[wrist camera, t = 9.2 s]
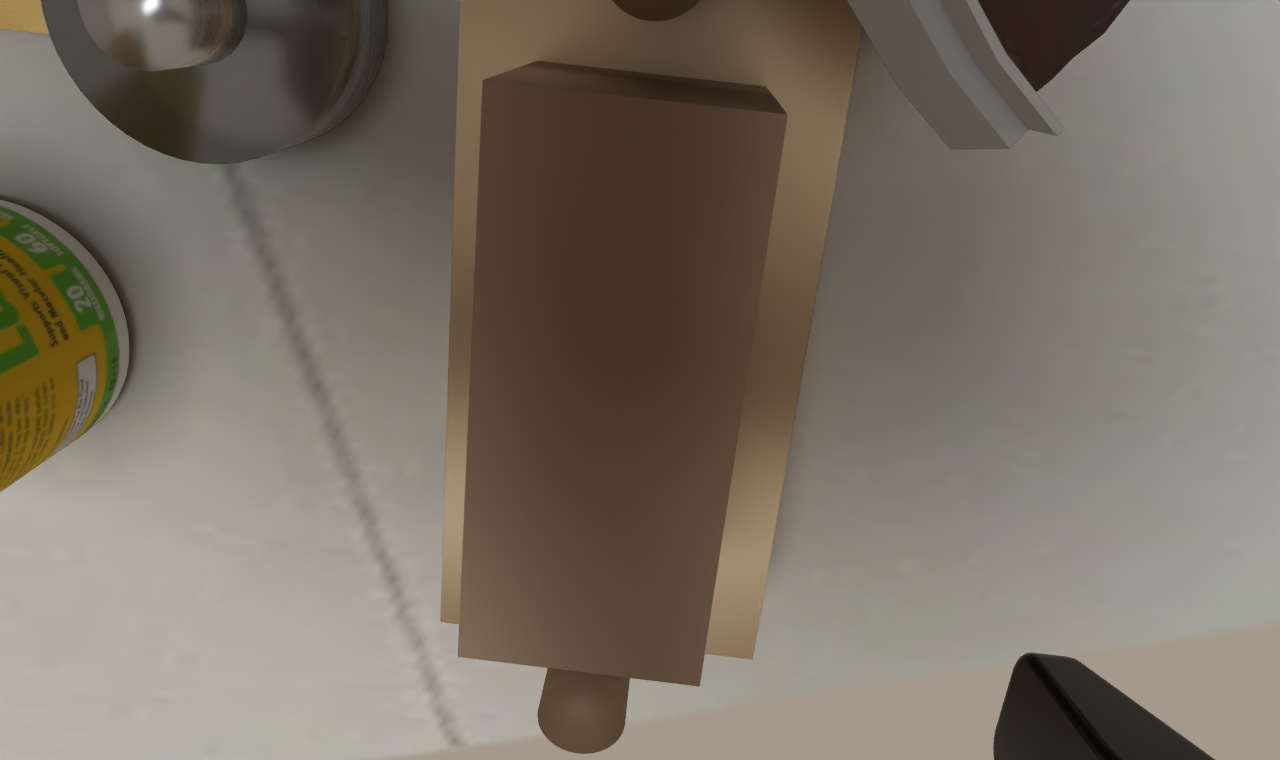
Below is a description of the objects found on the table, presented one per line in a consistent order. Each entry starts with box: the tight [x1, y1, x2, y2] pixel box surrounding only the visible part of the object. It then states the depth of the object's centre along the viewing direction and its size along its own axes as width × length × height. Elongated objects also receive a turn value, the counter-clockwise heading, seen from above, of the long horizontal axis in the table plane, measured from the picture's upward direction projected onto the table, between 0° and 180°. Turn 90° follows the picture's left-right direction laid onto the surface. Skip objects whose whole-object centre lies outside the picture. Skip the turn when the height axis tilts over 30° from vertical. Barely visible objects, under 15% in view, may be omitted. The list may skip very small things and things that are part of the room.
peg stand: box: [441, 0, 862, 754], centre depth 16 cm, size 13×6×6 cm, turn 174°
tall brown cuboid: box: [458, 61, 788, 686], centre depth 14 cm, size 4×8×4 cm, turn 174°
